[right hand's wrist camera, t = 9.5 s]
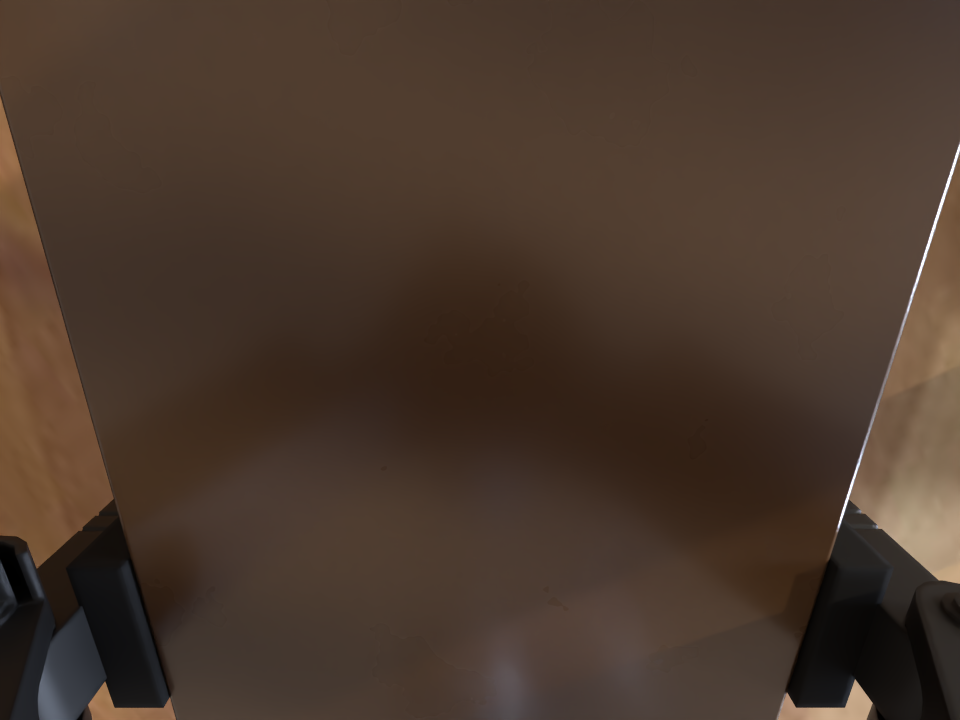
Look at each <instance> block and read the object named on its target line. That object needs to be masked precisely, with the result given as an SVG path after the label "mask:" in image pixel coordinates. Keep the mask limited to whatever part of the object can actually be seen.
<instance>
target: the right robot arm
mask: <svg viewBox="0 0 960 720" xmlns="http://www.w3.org/2000/svg"><path fill="white" fill-rule="evenodd" d="M855 679H856V681H857V682H858V683H859V685H860V686H861V687H862V689H863V690H864V692H865V693H866V694H867V696H868V697H869V698H870V700H871V701H872V702H873V704H872V707H871V710H870V712H869V715H868V718H867V720H960V584H957V583H952V582H947V581H939V580H938V579H936V578H935V577H934V576H933V575H932V574H931V573H930V572H929V571H928V570H926V569H925V568H924V567H923V566H922V565H921V564H920V563H919V562H918V561H916V560H915V559H914V558H913V557H912V556H911V555H910V554H909V553H908V552H907V551H905V550H904V549H903V548H902V547H901V546H900V545H899V544H898V543H897V542H895V541H894V540H893V539H892V538H891V537H890V536H889V535H888V534H887V533H885V532H884V531H883V530H882V529H878V527H877V524H875V523H874V522H873V521H872V520H871V519H870V518H869V517H868V516H867V515H866V514H861V510H860V509H859V508H858V507H857V506H856V505H854V504H853V503H852V502H851V501H850V500H848V503H847V506H846V509H845V512H844V515H843V518H842V521H841V525H840V528H839V531H838V534H837V537H836V540H835V543H834V546H833V549H832V553H831V556H830V559H829V562H828V565H827V568H826V571H825V574H824V578H823V581H822V584H821V587H820V590H819V593H818V596H817V599H816V602H815V606H814V609H813V612H812V615H811V618H810V621H809V624H808V627H807V631H806V634H805V637H804V640H803V643H802V646H801V649H800V652H799V655H798V659H797V662H796V665H795V668H794V671H793V674H792V677H791V680H790V684H789V687H788V690H787V693H788V694H789V696H790V698H791V700H792V701H793V703H794V705H795V706H796V708H845V706H846V703H847V700H848V697H849V695H850V692H851V689H852V686H853V683H854V680H855ZM104 682H106V684H107V687H108V690H109V693H110V696H111V699H112V701H113V704H114V707H115V708H164V706H165V704H166V702H167V701H168V699H169V697H170V695H169V691H168V688H167V684H166V681H165V678H164V674H163V670H162V667H161V663H160V660H159V656H158V653H157V649H156V646H155V642H154V639H153V635H152V631H151V628H150V624H149V621H148V617H147V614H146V610H145V607H144V603H143V600H142V596H141V592H140V589H139V585H138V582H137V578H136V575H135V571H134V568H133V564H132V561H131V557H130V553H129V550H128V546H127V543H126V539H125V536H124V532H123V529H122V525H121V522H120V518H119V514H118V511H117V507H116V504H115V500H114V499H113V500H112V501H111V502H110V503H109V504H108V505H107V506H106V507H105V508H103V509H102V510H101V511H100V512H99V516H95V517H94V518H92V519H91V520H90V521H89V522H88V523H87V524H86V525H85V526H84V527H83V530H82V531H78V532H77V533H76V534H75V535H74V536H73V537H72V538H70V539H69V540H68V541H67V542H66V543H65V544H64V545H63V546H62V547H61V548H59V549H58V550H57V551H56V552H55V553H54V554H53V555H52V556H51V557H50V558H48V559H47V560H46V561H45V562H44V563H43V564H42V565H41V566H40V567H39V568H37V569H36V566H35V564H34V561H33V558H32V556H31V553H30V550H29V548H28V545H27V542H25V541H24V540H22V539H20V538H19V537H15V536H0V720H92V716H91V712H90V710H89V707H88V704H89V702H90V701H91V700H92V698H93V697H94V695H95V694H96V693H97V691H98V690H99V689H100V687H101V686H102V684H103V683H104Z"/></svg>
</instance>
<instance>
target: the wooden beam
mask: <svg viewBox="0 0 960 720" xmlns="http://www.w3.org/2000/svg"><path fill="white" fill-rule="evenodd" d="M0 96H1V100H2V103H3V107H4V110H5V114H6V117H7V121H8V124H9V128H10V132H11V135H12V139H13V142H14V146H15V149H16V153H17V156H18V160H19V163H20V167H21V171H22V174H23V178H24V181H25V185H26V188H27V192H28V195H29V199H30V202H31V206H32V210H33V213H34V217H35V220H36V224H37V227H38V231H39V234H40V238H41V241H42V245H43V249H44V252H45V256H46V259H47V263H48V266H49V270H50V273H51V277H52V280H53V284H54V288H55V291H56V295H57V298H58V302H59V305H60V309H61V312H62V316H63V319H64V323H65V327H66V330H67V334H68V337H69V341H70V344H71V348H72V351H73V355H74V358H75V362H76V366H77V369H78V373H79V376H80V380H81V383H82V387H83V390H84V394H85V397H86V401H87V405H88V408H89V412H90V415H91V419H92V422H93V426H94V429H95V433H96V436H97V440H98V444H99V447H100V451H101V454H102V458H103V461H104V465H105V468H106V472H107V475H108V479H109V483H110V486H111V490H112V493H113V497H114V500H115V504H116V507H117V511H118V514H119V518H120V522H121V525H122V529H123V532H124V536H125V539H126V543H127V546H128V550H129V553H130V557H131V561H132V564H133V568H134V571H135V575H136V578H137V582H138V585H139V589H140V592H141V596H142V600H143V603H144V607H145V610H146V614H147V617H148V621H149V624H150V628H151V631H152V635H153V639H154V642H155V646H156V649H157V653H158V656H159V660H160V663H161V667H162V670H163V674H164V678H165V681H166V684H167V688H168V691H169V695H170V699H171V702H172V706H173V710H174V713H175V717H176V720H778V718H779V715H780V712H781V708H782V705H783V702H784V699H785V696H786V693H787V690H788V687H789V684H790V680H791V677H792V674H793V671H794V668H795V665H796V662H797V659H798V655H799V652H800V649H801V646H802V643H803V640H804V637H805V634H806V631H807V627H808V624H809V621H810V618H811V615H812V612H813V609H814V606H815V602H816V599H817V596H818V593H819V590H820V587H821V584H822V581H823V578H824V574H825V571H826V568H827V565H828V562H829V559H830V556H831V553H832V549H833V546H834V543H835V540H836V537H837V534H838V531H839V528H840V525H841V521H842V518H843V515H844V512H845V509H846V506H847V503H848V500H849V496H850V493H851V490H852V487H853V484H854V481H855V478H856V475H857V472H858V468H859V465H860V462H861V459H862V456H863V453H864V450H865V447H866V443H867V440H868V437H869V434H870V431H871V428H872V425H873V422H874V419H875V415H876V412H877V409H878V406H879V403H880V400H881V397H882V394H883V390H884V387H885V384H886V381H887V378H888V375H889V372H890V369H891V366H892V362H893V359H894V356H895V353H896V350H897V347H898V344H899V341H900V337H901V334H902V331H903V328H904V325H905V322H906V319H907V316H908V313H909V309H910V306H911V303H912V300H913V297H914V294H915V291H916V288H917V284H918V281H919V278H920V275H921V272H922V269H923V266H924V263H925V260H926V256H927V253H928V250H929V247H930V244H931V241H932V238H933V235H934V231H935V228H936V225H937V222H938V219H939V216H940V213H941V210H942V207H943V203H944V200H945V197H946V194H947V191H948V188H949V185H950V182H951V178H952V175H953V172H954V169H955V166H956V163H957V160H958V157H959V154H960V0H0Z"/></svg>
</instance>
